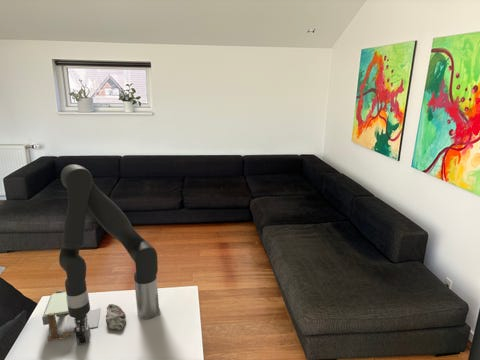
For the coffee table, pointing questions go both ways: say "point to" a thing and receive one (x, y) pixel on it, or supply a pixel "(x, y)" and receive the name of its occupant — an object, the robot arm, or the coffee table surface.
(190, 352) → the coffee table surface
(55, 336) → the frame
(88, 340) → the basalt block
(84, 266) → the robot arm
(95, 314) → the mat
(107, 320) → the mineral rock
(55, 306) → the trapdoor
